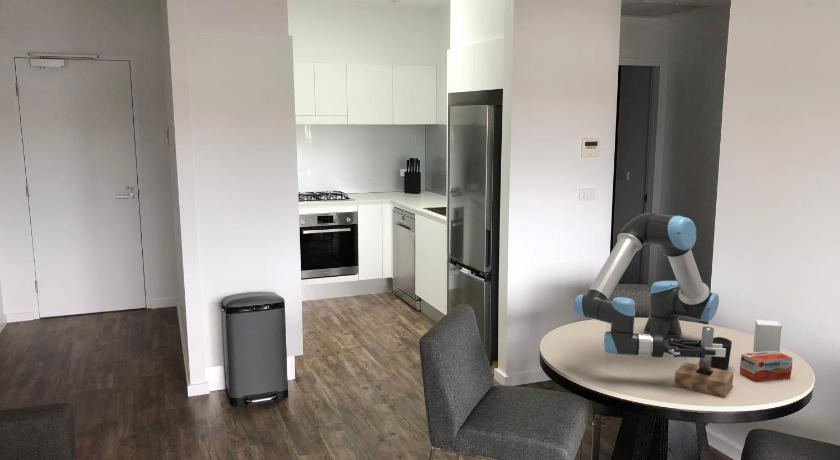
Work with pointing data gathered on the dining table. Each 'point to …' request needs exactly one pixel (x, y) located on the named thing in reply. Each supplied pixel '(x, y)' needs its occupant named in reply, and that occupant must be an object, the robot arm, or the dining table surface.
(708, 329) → the pin
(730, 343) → the pen holder
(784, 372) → the medicine box
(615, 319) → the robot arm
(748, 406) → the dining table surface
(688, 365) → the socket block
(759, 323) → the skincare box
